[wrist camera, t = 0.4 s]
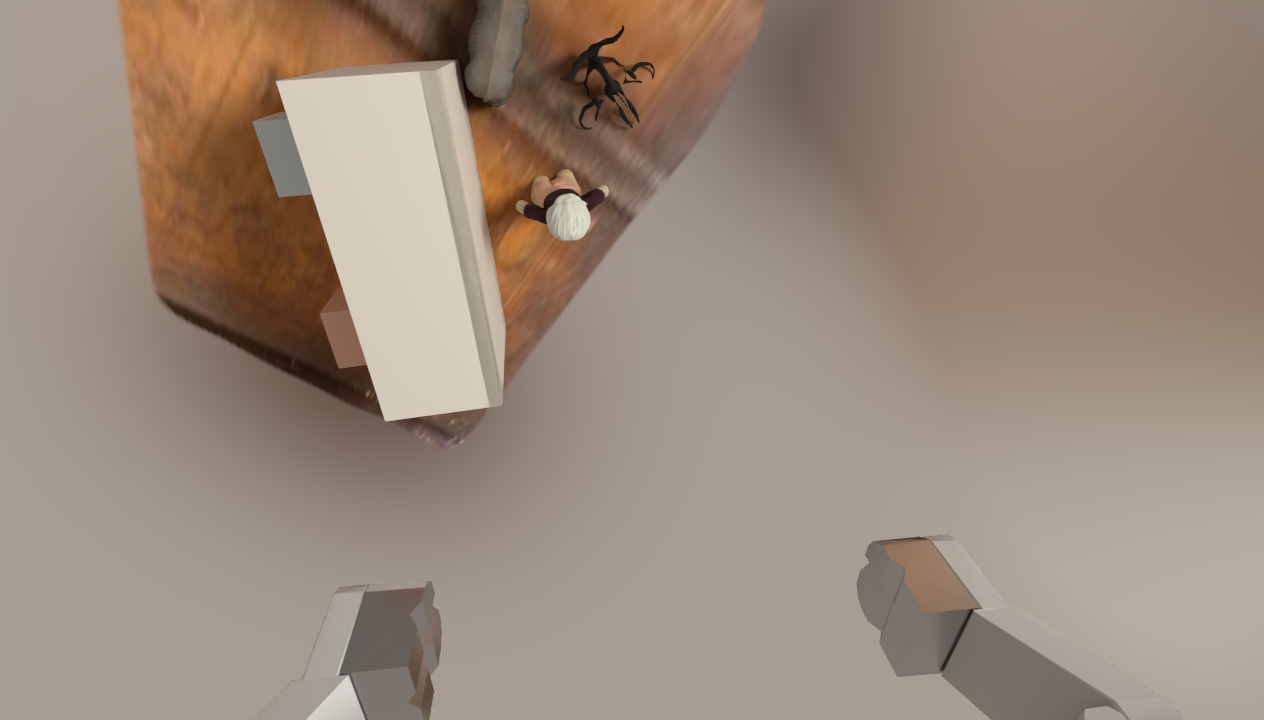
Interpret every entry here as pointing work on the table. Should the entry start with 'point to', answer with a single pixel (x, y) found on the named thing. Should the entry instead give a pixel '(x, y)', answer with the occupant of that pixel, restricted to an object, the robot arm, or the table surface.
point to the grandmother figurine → (562, 205)
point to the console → (405, 229)
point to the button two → (342, 331)
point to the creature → (605, 76)
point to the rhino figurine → (495, 48)
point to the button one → (282, 155)
